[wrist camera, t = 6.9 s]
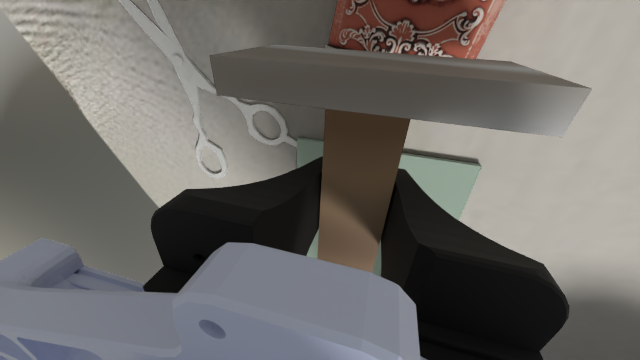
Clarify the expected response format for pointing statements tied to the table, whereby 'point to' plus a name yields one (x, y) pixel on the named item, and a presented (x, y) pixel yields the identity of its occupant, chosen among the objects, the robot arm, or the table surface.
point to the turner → (388, 118)
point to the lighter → (414, 26)
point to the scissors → (199, 84)
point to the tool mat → (428, 172)
